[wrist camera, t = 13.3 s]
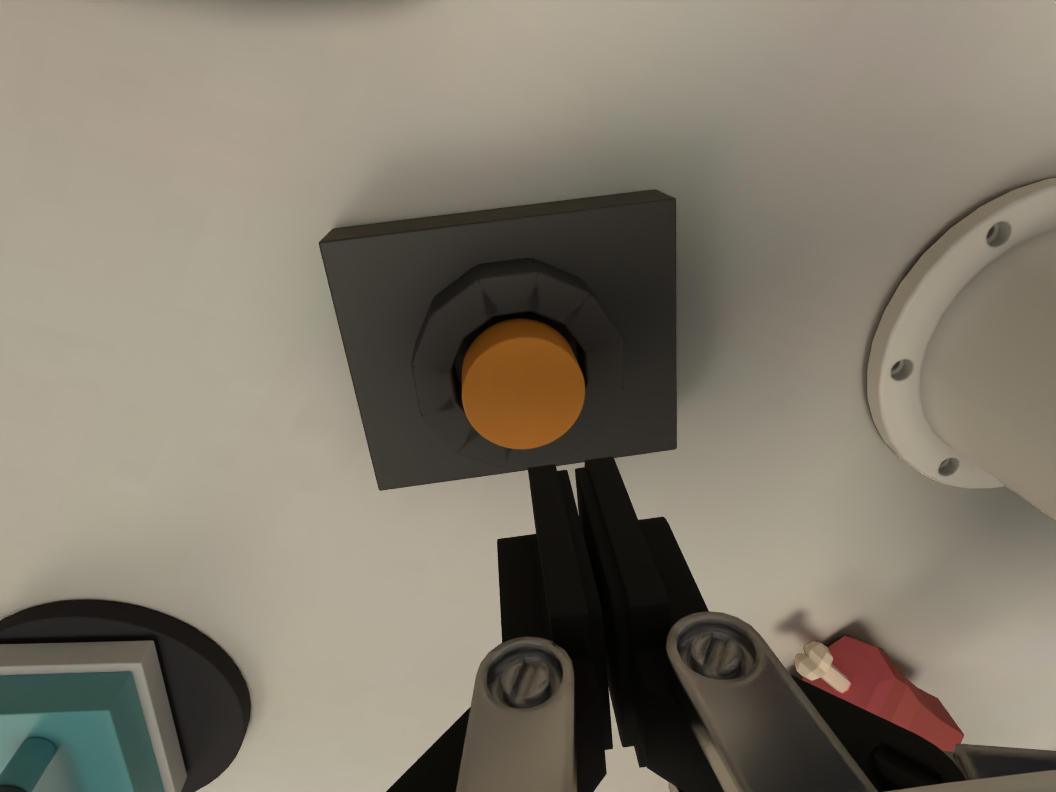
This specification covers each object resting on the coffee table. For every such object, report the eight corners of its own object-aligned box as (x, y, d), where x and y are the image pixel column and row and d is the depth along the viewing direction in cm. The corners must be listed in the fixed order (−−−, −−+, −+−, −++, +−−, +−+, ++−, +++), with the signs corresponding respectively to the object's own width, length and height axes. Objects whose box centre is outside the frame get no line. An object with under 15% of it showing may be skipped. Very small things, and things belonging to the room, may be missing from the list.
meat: (806, 735, 26) (884, 646, 26) (739, 661, 31) (806, 585, 31) (949, 842, 30) (1017, 765, 30) (872, 762, 35) (930, 695, 35)
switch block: (656, 189, 21) (696, 206, 18) (660, 422, 25) (693, 476, 22) (331, 228, 21) (304, 255, 17) (385, 460, 25) (372, 521, 21)
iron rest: (203, 580, 26) (194, 597, 26) (281, 766, 32) (275, 785, 31) (-93, 623, 26) (-114, 642, 25) (34, 805, 31) (22, 825, 30)
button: (571, 310, 19) (581, 329, 18) (579, 415, 21) (589, 441, 19) (453, 325, 19) (453, 346, 17) (470, 430, 21) (471, 457, 19)
